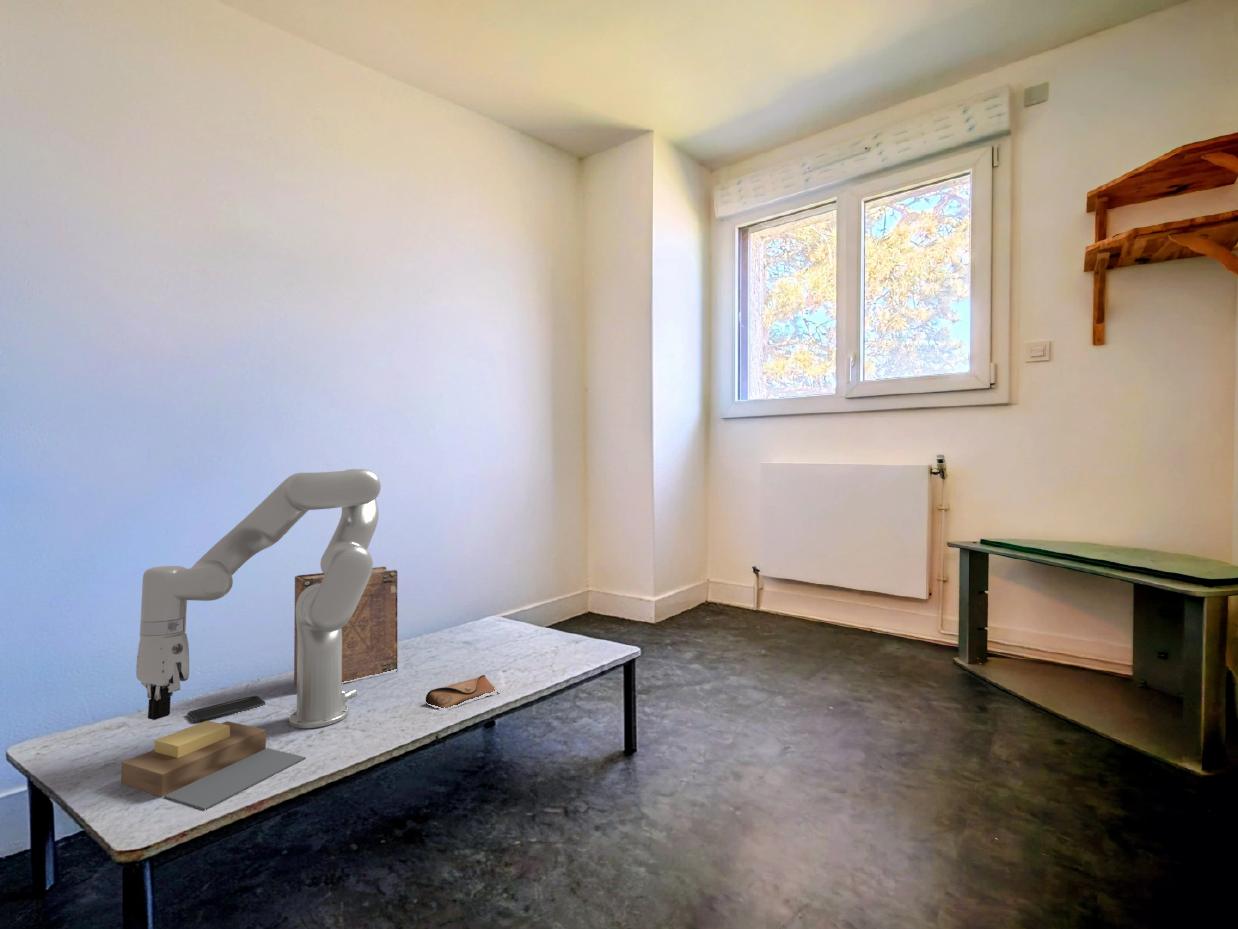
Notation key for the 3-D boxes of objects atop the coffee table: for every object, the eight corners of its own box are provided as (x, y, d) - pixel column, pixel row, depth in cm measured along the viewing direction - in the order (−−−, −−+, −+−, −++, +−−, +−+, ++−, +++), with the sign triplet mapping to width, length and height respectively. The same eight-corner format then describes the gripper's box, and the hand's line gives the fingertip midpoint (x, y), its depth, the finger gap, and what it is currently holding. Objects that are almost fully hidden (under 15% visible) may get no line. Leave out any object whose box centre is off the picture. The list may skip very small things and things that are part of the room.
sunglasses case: (443, 712, 143) (436, 685, 146) (430, 720, 147) (422, 694, 149) (503, 692, 157) (495, 668, 159) (489, 700, 161) (482, 676, 163)
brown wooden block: (227, 739, 129) (227, 721, 129) (265, 749, 124) (266, 730, 124) (121, 784, 110) (121, 762, 110) (162, 797, 106) (162, 774, 106)
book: (386, 664, 180) (386, 566, 181) (397, 672, 173) (398, 569, 174) (293, 684, 163) (294, 575, 164) (302, 693, 156) (303, 579, 157)
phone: (186, 712, 142) (256, 694, 153) (186, 716, 142) (256, 699, 153) (194, 721, 137) (266, 702, 148) (194, 726, 137) (266, 707, 148)
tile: (207, 731, 124) (207, 720, 124) (229, 736, 121) (229, 725, 121) (154, 751, 114) (154, 740, 114) (177, 758, 112) (178, 746, 112)
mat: (267, 749, 124) (267, 748, 124) (305, 758, 120) (305, 757, 120) (164, 797, 105) (164, 795, 105) (205, 810, 101) (205, 808, 101)
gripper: (206, 627, 122) (201, 716, 122) (160, 619, 128) (155, 705, 127) (166, 635, 115) (162, 730, 115) (120, 627, 121) (115, 717, 120)
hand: (158, 717), depth 121 cm, fingers closed
